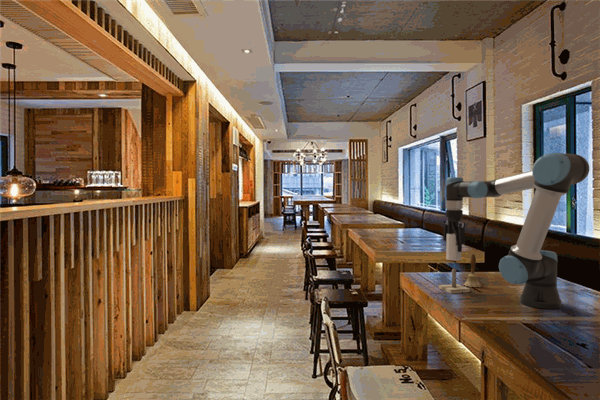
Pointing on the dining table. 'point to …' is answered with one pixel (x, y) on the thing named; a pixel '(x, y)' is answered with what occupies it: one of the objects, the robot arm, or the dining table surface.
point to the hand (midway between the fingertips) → (453, 256)
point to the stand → (454, 285)
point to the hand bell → (472, 274)
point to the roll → (451, 247)
